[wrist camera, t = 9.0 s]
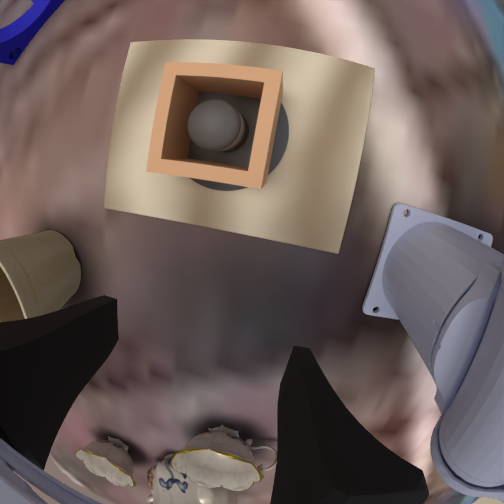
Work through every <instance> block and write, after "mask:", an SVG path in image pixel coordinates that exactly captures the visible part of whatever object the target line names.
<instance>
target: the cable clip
mask: <svg viewBox="0 0 504 504" xmlns="http://www.w3.org/2000/svg"><path fill="white" fill-rule="evenodd" d="M63 1H64V0H32V2H33V3H34V4H33V6H32V7H31V8H30V9H29V10H28V11H27V12H26V13H25V14H23V15H22V16H21V17H20V18H19V19H17V20H16V21H14V22H13V23H11V24H10V25H8V26H6V27H4V28H2V29H0V63H6V64H12V65H14V64H15V62H16V61H17V59H18V58H19V56H20V55H21V53H22V52H23V50H24V49H25V48H26V46H27V45H28V43H29V42H30V41H31V39H32V38H33V37H34V35H35V34H36V33H37V32H38V30H39V29H40V28H41V27H42V25H43V24H44V23H45V22H46V21H47V19H48V18H49V17H50V16H51V15H52V14H53V12H54V11H55V10H56V9H57V8H58V7H59V6H60V5H61V4H62V2H63Z"/></svg>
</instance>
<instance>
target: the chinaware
mask: <svg viewBox="0 0 504 504" xmlns="http://www.w3.org/2000/svg"><path fill="white" fill-rule="evenodd" d="M208 429H209V430H210V431H208V432H204V433H201V434H199V435H197V436H195V437H194V438H192V439H191V440H190V441H189V442H188V443H187V444H186V445H185V447H184V448H182V449H181V450H179V451H178V452H177V453H170V454H167V455H165V456H164V458H163V460H161V461H159V462H158V463H157V464H156V465H155V466H153V467H151V468H150V469H149V470H148V471H147V479H148V482H149V486H150V489H151V492H152V494H151V495H149V496H148V497H147V502H149V503H151V504H237V500H238V492H237V491H241V492H242V491H244V490H247V489H249V488H250V487H251V486H252V485H253V484H254V482H260V481H261V480H262V478H263V477H264V476H263V473H262V472H260V471H269V470H271V469H273V468H274V467H275V466H276V464H277V451H276V450H275V449H274V448H272V447H270V446H259V447H251V446H250V445H251V444H252V441H253V440H252V439H247V440H245V442H244V441H243V440H242V439H241V438H239V435H238V432H239V431H234V430H232V429H230V428H227V427H224V426H223V425H221V426H220V427H215V428H212V429H210V428H208ZM108 437H109V436H108ZM128 447H129V446H126V445H125V444H124V443H123V442H121V441H120V440H119V439H115V438H111V437H109V440H96V441H93V442H91V443H90V444H89V445H87V446H86V447H85V448H83V449H79V450H77V451H76V452H75V455H76V456H77V458H79V459H81V460H83V462H84V465H85V467H86V468H87V469H88V470H89V471H90V472H92V473H94V474H96V475H98V476H102V477H105V476H106V478H107V479H108V480H109V481H110V482H111V483H113V484H115V485H116V486H121V487H125V486H127V485H130V486H132V487H134V486H136V483H135V481H134V480H133V462H132V459H131V457H130V455H129V453H128V451H127V450H128ZM263 448H265V449H269V450H271V451H272V452H274V454H275V456H276V459H275V462H274V463H273V464H272V465H271V466H270V467H268V468H266V469H263V465H262V464H261V465H260V466H258V467H256V465H255V461H254V457H253V453H252V451H251V449H253V450H256V449H263ZM259 468H260V469H259Z"/></svg>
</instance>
